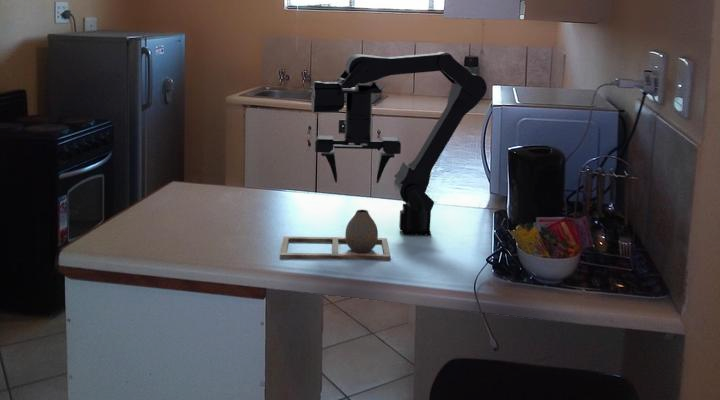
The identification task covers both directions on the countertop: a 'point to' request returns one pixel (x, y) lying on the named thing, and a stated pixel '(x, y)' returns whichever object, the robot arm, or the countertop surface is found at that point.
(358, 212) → the vase
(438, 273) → the countertop surface
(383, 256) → the rail frame
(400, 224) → the robot arm
